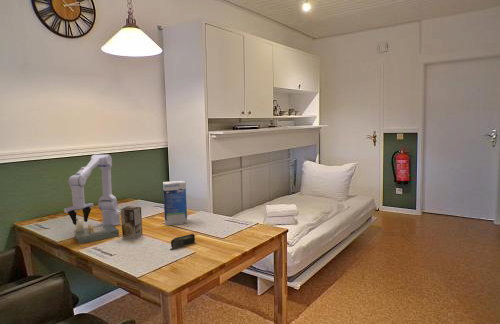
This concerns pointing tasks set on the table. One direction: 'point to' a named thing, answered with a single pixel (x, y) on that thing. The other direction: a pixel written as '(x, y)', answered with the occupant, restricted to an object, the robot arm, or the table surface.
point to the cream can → (79, 225)
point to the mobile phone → (182, 241)
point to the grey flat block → (96, 234)
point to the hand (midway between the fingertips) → (80, 222)
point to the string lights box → (175, 202)
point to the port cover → (95, 229)
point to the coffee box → (131, 222)
